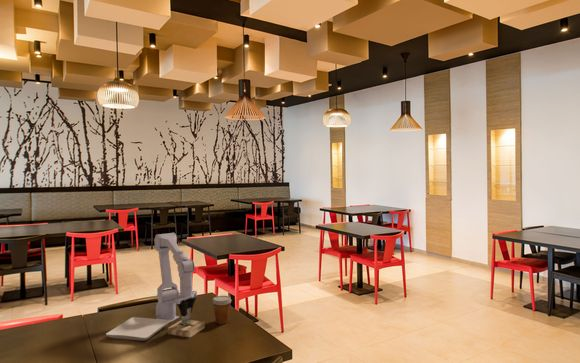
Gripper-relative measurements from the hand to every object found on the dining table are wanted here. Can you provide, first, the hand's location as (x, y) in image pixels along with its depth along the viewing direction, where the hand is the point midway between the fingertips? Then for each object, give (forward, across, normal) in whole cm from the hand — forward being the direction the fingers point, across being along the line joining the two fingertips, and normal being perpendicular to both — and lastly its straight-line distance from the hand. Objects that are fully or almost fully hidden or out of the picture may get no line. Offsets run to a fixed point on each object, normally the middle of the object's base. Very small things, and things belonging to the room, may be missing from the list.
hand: (186, 314), depth 186 cm
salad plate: (+8, -9, +20) cm, 24 cm away
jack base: (+8, 0, 0) cm, 8 cm away
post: (+4, 0, 0) cm, 4 cm away
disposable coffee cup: (+8, +16, -10) cm, 21 cm away
